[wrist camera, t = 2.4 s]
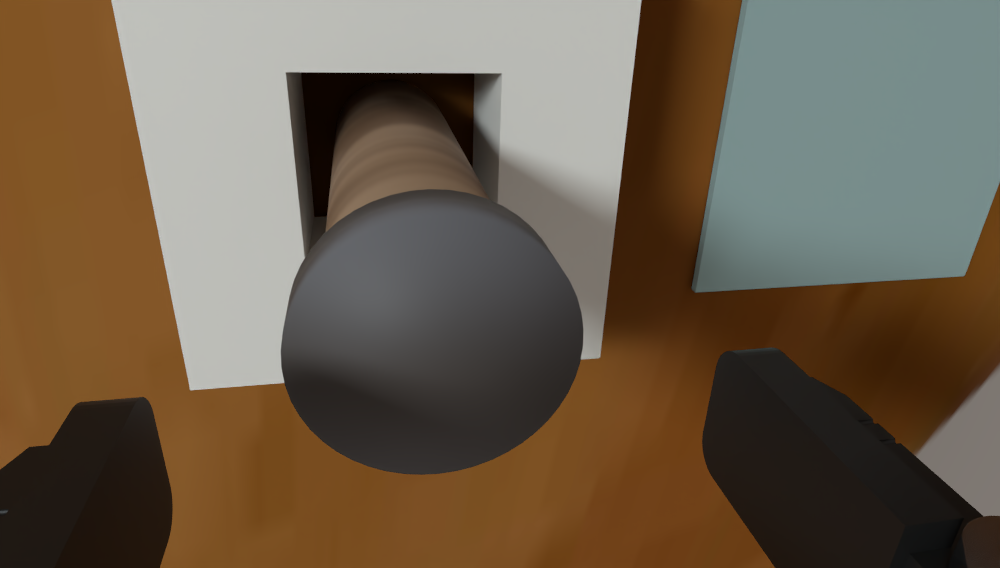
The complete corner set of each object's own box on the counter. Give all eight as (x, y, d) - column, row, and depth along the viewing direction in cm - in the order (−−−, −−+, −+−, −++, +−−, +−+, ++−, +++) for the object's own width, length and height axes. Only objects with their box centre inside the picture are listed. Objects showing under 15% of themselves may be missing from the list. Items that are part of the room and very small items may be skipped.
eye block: (147, -93, 20) (90, -106, 16) (593, -72, 23) (650, -78, 18) (217, 316, 26) (190, 390, 22) (562, 296, 29) (600, 357, 24)
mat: (753, -64, 24) (759, -64, 24) (1075, -49, 26) (1084, -49, 26) (691, 288, 30) (695, 292, 30) (957, 272, 33) (964, 276, 32)
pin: (315, 64, 23) (262, 220, 10) (460, 66, 24) (597, 207, 10) (327, 203, 25) (296, 489, 12) (459, 199, 26) (571, 459, 13)
